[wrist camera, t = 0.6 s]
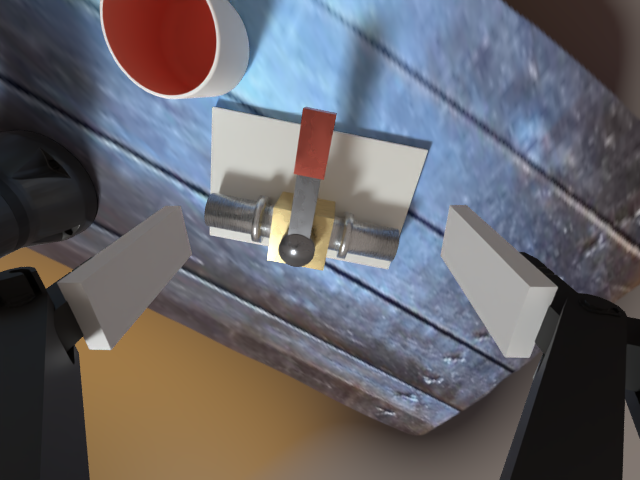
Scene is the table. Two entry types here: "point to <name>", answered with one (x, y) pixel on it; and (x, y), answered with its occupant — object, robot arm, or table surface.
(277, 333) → the table surface
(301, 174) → the lever
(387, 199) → the board
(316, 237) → the valve
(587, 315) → the robot arm
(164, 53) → the cup
